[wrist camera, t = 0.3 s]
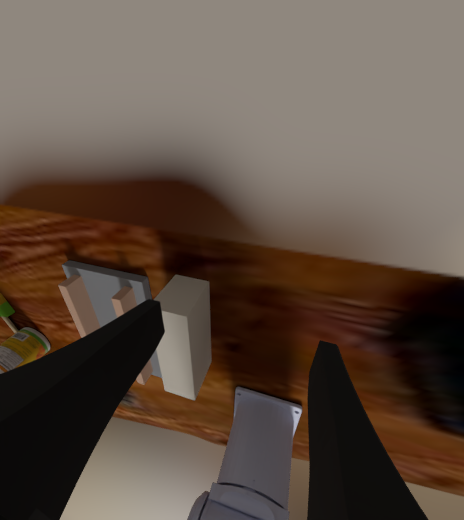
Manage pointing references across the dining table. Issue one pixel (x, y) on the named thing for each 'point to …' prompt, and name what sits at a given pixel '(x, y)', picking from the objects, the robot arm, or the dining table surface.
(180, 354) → the beige rectangular block
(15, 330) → the popsicle
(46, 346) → the supplement bottle
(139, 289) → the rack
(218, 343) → the dining table surface
